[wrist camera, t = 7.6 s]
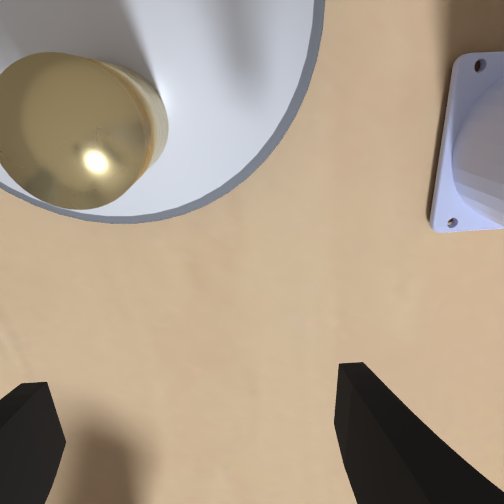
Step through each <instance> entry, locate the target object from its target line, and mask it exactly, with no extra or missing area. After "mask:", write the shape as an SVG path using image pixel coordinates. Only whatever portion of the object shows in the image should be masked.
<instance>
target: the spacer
mask: <svg viewBox="0 0 504 504" xmlns="http://www.w3.org/2000/svg"><path fill="white" fill-rule="evenodd" d="M168 132H169V123H168V116H167V112H166V109H165V106H164V104H163V101H162V99H161V97H160V96H159V94H158V93H157V91H156V90H155V88H154V87H153V86H152V85H151V84H150V83H149V82H148V81H147V80H146V79H145V78H144V77H143V76H141V75H140V74H138V73H137V72H135V71H133V70H131V69H129V68H126V67H124V66H120V65H116V64H111V63H107V62H102V61H98V60H93V59H89V58H84V57H80V56H75V55H71V54H66V53H60V52H41V53H36V54H31V55H28V56H26V57H23V58H21V59H19V60H17V61H15V62H14V63H12V64H11V65H10V66H8V67H7V68H6V69H5V70H4V71H3V72H2V73H1V75H0V164H1V165H2V167H3V168H4V169H5V171H6V172H7V173H8V175H9V176H10V177H11V178H12V179H13V180H14V181H15V182H16V183H17V184H18V185H19V186H20V187H21V188H23V189H24V190H25V191H27V192H28V193H29V194H31V195H32V196H34V197H36V198H38V199H39V200H41V201H43V202H46V203H48V204H50V205H53V206H57V207H60V208H65V209H71V210H87V209H94V208H99V207H102V206H104V205H107V204H109V203H111V202H113V201H115V200H116V199H118V198H119V197H121V196H122V195H123V194H124V193H125V192H126V191H127V190H128V189H129V188H130V187H131V186H132V185H133V184H134V183H135V182H136V181H137V180H138V179H139V178H140V177H141V176H142V175H143V174H144V173H145V172H146V171H147V170H148V169H149V168H150V167H151V166H152V165H153V164H154V163H155V162H156V161H157V160H158V159H159V157H160V156H161V154H162V152H163V151H164V148H165V146H166V143H167V139H168Z"/></svg>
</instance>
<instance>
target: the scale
mask: <svg viewBox="0 0 504 504" xmlns="http://www.w3.org/2000/svg"><path fill="white" fill-rule="evenodd" d="M324 7H325V0H0V75H1V73H2V72H3V71H4V70H5V69H6V68H7V67H8V66H10V65H11V64H12V63H14V62H15V61H17V60H19V59H21V58H23V57H26V56H28V55H31V54H36V53H41V52H60V53H66V54H71V55H75V56H80V57H84V58H89V59H93V60H98V61H102V62H107V63H111V64H116V65H120V66H124V67H126V68H129V69H131V70H133V71H135V72H137V73H138V74H140V75H141V76H143V77H144V78H145V79H146V80H147V81H148V82H149V83H150V84H151V85H152V86H153V87H154V88H155V90H156V91H157V93H158V94H159V96H160V97H161V99H162V101H163V104H164V106H165V109H166V112H167V116H168V123H169V132H168V139H167V143H166V146H165V148H164V151H163V152H162V154H161V156H160V157H159V159H158V160H157V161H156V162H155V163H154V164H153V165H152V166H151V167H150V168H149V169H148V170H147V171H146V172H145V173H144V174H143V175H142V176H141V177H140V178H139V179H138V180H137V181H136V182H135V183H134V184H133V185H132V186H131V187H130V188H129V189H128V190H127V191H126V192H125V193H124V194H123V195H122V196H121V197H119V198H118V199H116V200H115V201H113V202H111V203H109V204H107V205H104V206H102V207H99V208H94V209H87V210H71V209H65V208H60V207H57V206H53V205H50V204H48V203H46V202H43V201H41V200H39V199H38V198H36V197H34V196H32V195H31V194H29V193H28V192H27V191H25V190H24V189H23V188H21V187H20V186H19V185H18V184H17V183H16V182H15V181H14V180H13V179H12V178H11V177H10V176H9V175H8V173H7V172H6V171H5V169H4V168H3V167H2V165H1V164H0V188H2V189H3V190H5V191H7V192H8V193H10V194H12V195H14V196H16V197H18V198H20V199H23V200H25V201H27V202H29V203H31V204H33V205H35V206H38V207H41V208H43V209H46V210H49V211H52V212H55V213H57V214H60V215H64V216H69V217H73V218H77V219H81V220H85V221H93V222H102V223H110V224H137V223H145V222H152V221H160V220H164V219H168V218H172V217H176V216H180V215H183V214H186V213H188V212H191V211H193V210H196V209H198V208H201V207H203V206H206V205H208V204H209V203H211V202H213V201H215V200H216V199H218V198H220V197H222V196H223V195H225V194H227V193H228V192H230V191H231V190H232V189H234V188H235V187H236V186H238V185H239V184H240V183H242V182H243V181H244V180H246V179H247V178H248V177H249V176H250V175H251V174H252V173H253V172H254V171H255V170H256V169H257V168H258V167H259V166H260V165H261V164H262V163H263V162H264V161H265V160H266V159H267V158H268V156H269V155H270V154H271V152H272V151H273V150H274V149H275V147H276V146H277V145H278V144H279V142H280V141H281V140H282V138H283V136H284V135H285V133H286V131H287V130H288V128H289V126H290V125H291V123H292V121H293V120H294V118H295V117H296V114H297V112H298V110H299V108H300V105H301V103H302V101H303V99H304V96H305V94H306V92H307V90H308V87H309V83H310V80H311V77H312V74H313V71H314V67H315V64H316V61H317V56H318V51H319V46H320V41H321V36H322V30H323V20H324Z"/></svg>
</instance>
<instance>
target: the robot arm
mask: <svg viewBox="0 0 504 504" xmlns="http://www.w3.org/2000/svg"><path fill="white" fill-rule="evenodd" d="M478 60H479V61H480V62H481V67H480V69H479V70H478V71H477V72H476V71H475V70H474V65H475V63H476V62H477V61H478ZM451 218H453V222H452V223H451V224H450V225H447V223H448V221H449V220H450V219H451ZM429 223H430V227H431V229H433V230H434V231H436V232H439V233H445V232H459V231H474V230H489V229H503V228H504V51H499V52H480V53H467V54H463V55H461V56H459V57H458V58H457V59H456V61H455V62H454V65H453V68H452V75H451V82H450V88H449V95H448V102H447V108H446V115H445V122H444V128H443V135H442V142H441V148H440V155H439V162H438V168H437V175H436V182H435V188H434V195H433V202H432V208H431V215H430V221H429ZM334 426H335V430H336V434H337V439H338V443H339V447H340V451H341V455H342V459H343V463H344V467H345V470H346V472H347V475H348V478H349V481H350V484H351V487H352V490H353V492H354V495H355V498H356V501H357V504H504V492H503V491H502V490H500V489H499V488H498V487H497V486H495V485H494V484H493V483H491V482H490V481H489V480H488V479H487V478H485V477H484V476H483V475H482V474H480V473H479V472H478V471H477V470H476V469H474V468H473V467H472V466H471V465H470V464H469V463H467V462H466V461H465V460H464V459H463V458H462V457H461V456H459V455H458V454H457V453H456V452H455V451H454V450H453V449H451V448H450V447H449V446H448V445H447V444H446V443H445V442H444V441H443V440H441V439H440V438H439V437H438V436H437V435H436V434H435V433H434V432H433V431H432V430H431V429H430V428H429V427H428V426H426V425H425V424H424V423H423V422H422V421H421V420H420V419H419V418H418V417H417V416H416V415H415V414H414V413H413V412H412V411H411V410H410V409H409V408H408V407H407V406H406V405H405V404H404V403H403V402H402V401H401V400H400V399H399V398H398V397H397V396H396V395H395V394H394V393H393V392H392V391H391V390H390V389H389V388H388V387H387V386H386V385H385V384H384V383H383V382H382V381H381V380H380V379H379V378H378V377H377V376H376V375H375V374H374V373H373V372H372V371H371V370H370V369H369V368H368V367H367V366H366V365H365V364H364V363H363V362H358V363H342V364H339V369H338V381H337V393H336V405H335V417H334ZM65 444H66V440H65V437H64V434H63V431H62V428H61V424H60V421H59V418H58V415H57V412H56V409H55V406H54V402H53V399H52V396H51V393H50V390H49V387H48V383H47V382H37V383H21V384H20V385H19V386H17V387H16V388H15V389H13V390H12V391H11V392H10V393H8V394H7V395H6V396H5V397H3V398H2V399H1V400H0V504H45V502H46V499H47V497H48V495H49V492H50V490H51V488H52V485H53V482H54V479H55V476H56V473H57V470H58V467H59V464H60V461H61V457H62V454H63V451H64V447H65Z"/></svg>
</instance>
